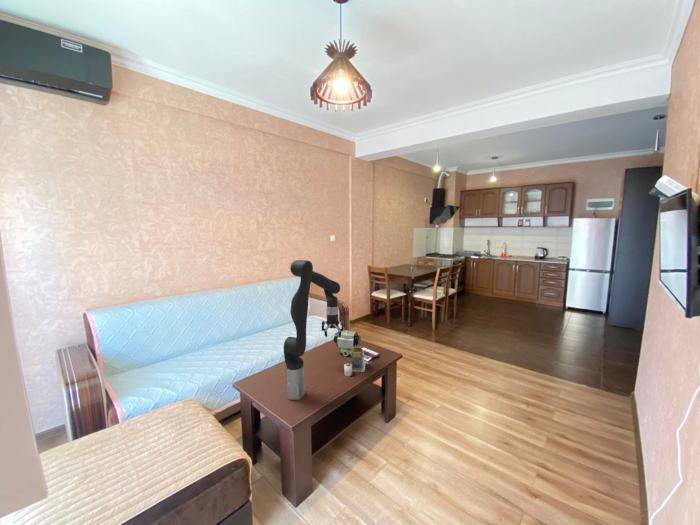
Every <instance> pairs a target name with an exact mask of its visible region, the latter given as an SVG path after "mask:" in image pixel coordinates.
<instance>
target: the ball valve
mask: <svg viewBox="0 0 700 525" xmlns="http://www.w3.org/2000/svg"><path fill="white" fill-rule="evenodd" d="M361 338H362V337H361V335H359V333H358V331H351V330H344V331H342V332H341V337H340V338H339V331H338V330H337V332H336V333H334V336H333V343H335V345H336V348H337V347H339V348H340V354H342V355H343V356H344V357H348V356H351V351H352V350H353V351H354V347H358V346H360V345H361V342H362V341H361Z"/></svg>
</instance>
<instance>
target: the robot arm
mask: <svg viewBox="0 0 700 525" xmlns="http://www.w3.org/2000/svg"><path fill="white" fill-rule="evenodd" d="M313 267H314V265H313V263H312V261H310V260H307V259H306V260H303V259H296V260H294V261H292V262H291V264H290V268H289V269H290V272H291V274H292V275H293V276H294V277H298V278H300V282H299V286H298V288H297V290H296V292H295V293H294V295H293V297H292V299H291V303H290V311H289V312H290V316H291V319H292V322H293V324H294V326H295V330H296V335H295V336H296V337H295V336H288V337H287V338H285V340H284V343H283V357H284V363H285V366H286V385H287V399H288V400H290V401H291V400H293V401H300V400H301V399H303V397H305V371H304V367H305V366H304V364H305V363H304V360H303V358H301V357H302V356H304V354H305V352H306V349H307V321H308V311H309V301H310V300H309V298H310V289H311V284H312V283H313V284H314V285H315V286H317V287H319V288H321V289H322V290H323V292H324V296H325V299H326V320H322V321H321V331H322V332H324V337H325V338H328V330H329V329H334V330H335V329H336V330H337V332H338V331H339V338H340V337H341V332H342V331H345V325H344V320H342V321H339V300H338V299H339V298H338V297H337V296H336V295H334V294H338V293H339V292H340V291H341V285H340V283H338V282H337V281H335V280H333V279H329V278H328V277H326V275H323V274H322V273H319V272H317V271H314V268H313ZM339 324H340V325H339ZM325 325H326V327H325ZM340 326H341V327H340Z"/></svg>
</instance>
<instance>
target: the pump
mask: <svg viewBox="0 0 700 525" xmlns="http://www.w3.org/2000/svg"><path fill="white" fill-rule="evenodd" d="M350 363H351V362H345V364H344V365H343V368H344V376H346V377H350V376H352V375H353V371H352V364H350Z"/></svg>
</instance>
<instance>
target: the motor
mask: <svg viewBox="0 0 700 525" xmlns="http://www.w3.org/2000/svg"><path fill="white" fill-rule="evenodd" d="M353 349H354V351H353V350H352V351H351V355H350V356H351V360H350V362H349V363H350V364H352V373H353V372H357V373H365V371H366V364H367V361H364V354H365V351H364V350H362V349H363V347H362V346H356V347H354V348H353Z"/></svg>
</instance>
